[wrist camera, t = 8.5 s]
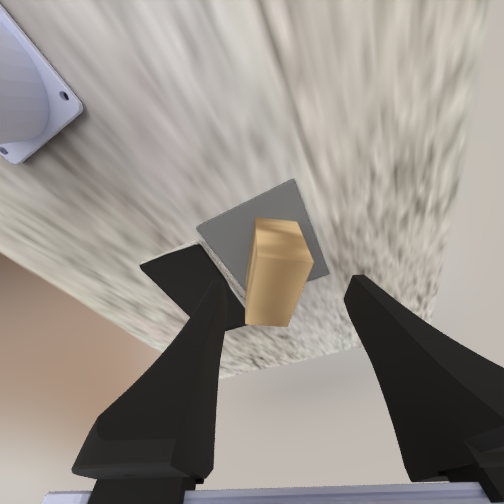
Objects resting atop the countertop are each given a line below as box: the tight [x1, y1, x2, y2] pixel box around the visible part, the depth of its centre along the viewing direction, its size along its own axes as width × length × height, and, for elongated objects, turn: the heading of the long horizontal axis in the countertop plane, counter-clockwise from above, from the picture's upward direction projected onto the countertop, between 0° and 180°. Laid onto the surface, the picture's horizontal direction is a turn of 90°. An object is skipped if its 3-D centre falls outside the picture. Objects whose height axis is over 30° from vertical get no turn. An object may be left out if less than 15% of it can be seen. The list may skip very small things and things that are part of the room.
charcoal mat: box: [196, 179, 330, 291], centre depth 21 cm, size 12×10×1 cm
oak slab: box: [245, 217, 314, 327], centre depth 19 cm, size 4×8×6 cm, turn 173°
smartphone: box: [139, 239, 248, 331], centre depth 25 cm, size 8×1×15 cm
